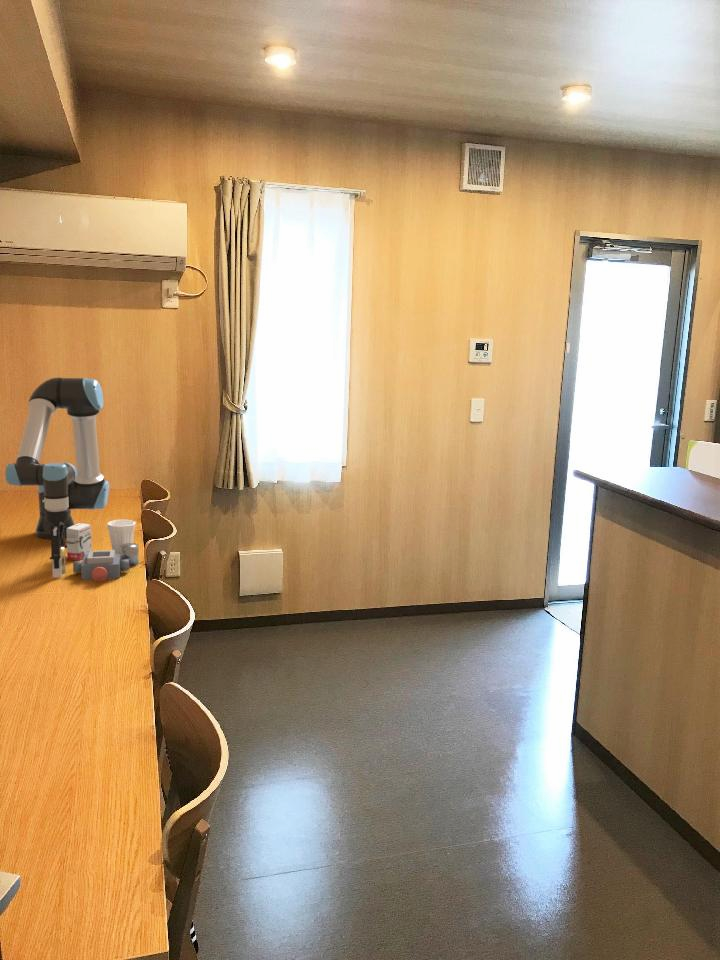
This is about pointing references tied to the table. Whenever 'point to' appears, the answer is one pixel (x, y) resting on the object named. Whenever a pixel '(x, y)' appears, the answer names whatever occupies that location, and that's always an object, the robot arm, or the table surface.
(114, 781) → the table surface
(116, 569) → the valve body
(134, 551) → the steel nipple large
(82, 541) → the ink box
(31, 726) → the table surface
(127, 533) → the cup
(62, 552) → the brass cylinder
